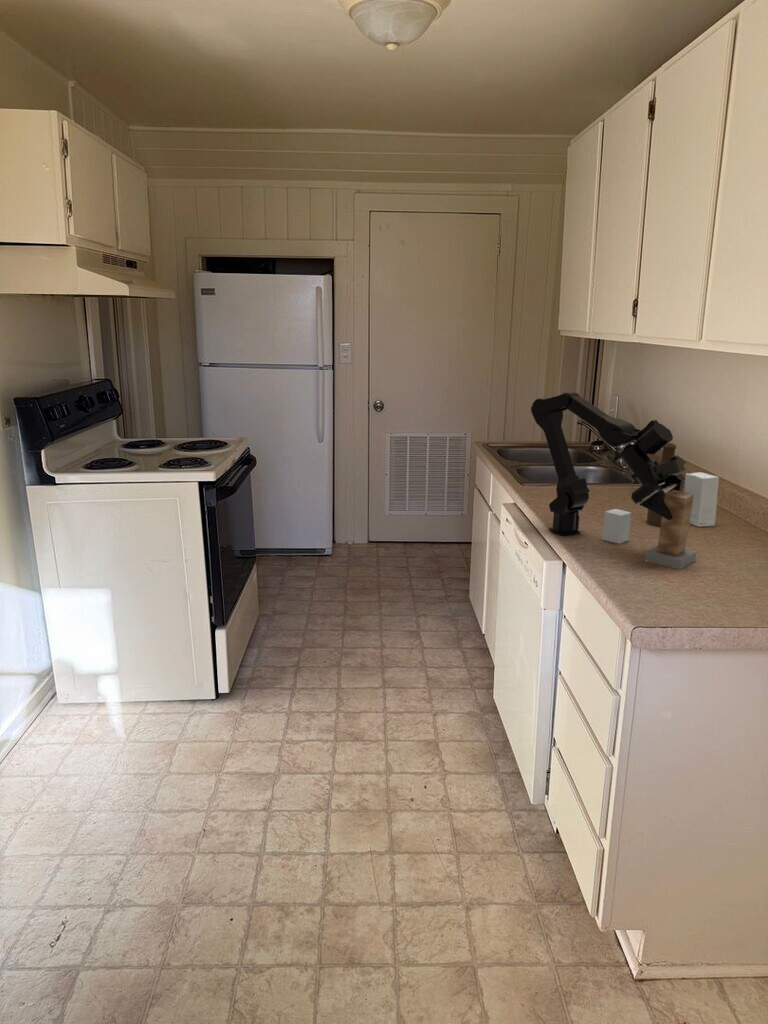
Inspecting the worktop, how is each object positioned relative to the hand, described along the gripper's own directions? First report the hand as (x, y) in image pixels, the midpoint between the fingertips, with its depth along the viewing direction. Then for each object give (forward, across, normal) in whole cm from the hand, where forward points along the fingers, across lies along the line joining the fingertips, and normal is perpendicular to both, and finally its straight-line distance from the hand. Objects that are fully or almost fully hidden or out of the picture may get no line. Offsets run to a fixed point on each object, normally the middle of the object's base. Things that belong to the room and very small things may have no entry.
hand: (679, 515), depth 174 cm
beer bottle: (-4, +31, +21) cm, 38 cm away
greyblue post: (-5, +6, +22) cm, 23 cm away
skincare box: (+2, +40, +16) cm, 43 cm away
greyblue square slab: (+8, 0, +10) cm, 13 cm away
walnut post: (+6, 0, +7) cm, 9 cm away
